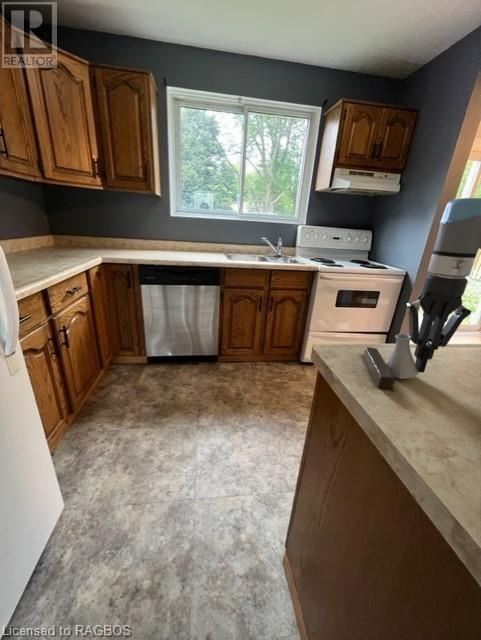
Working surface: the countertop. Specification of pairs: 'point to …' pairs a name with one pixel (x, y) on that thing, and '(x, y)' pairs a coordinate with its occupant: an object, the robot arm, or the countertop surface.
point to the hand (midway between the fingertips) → (418, 369)
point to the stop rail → (378, 368)
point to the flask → (402, 359)
